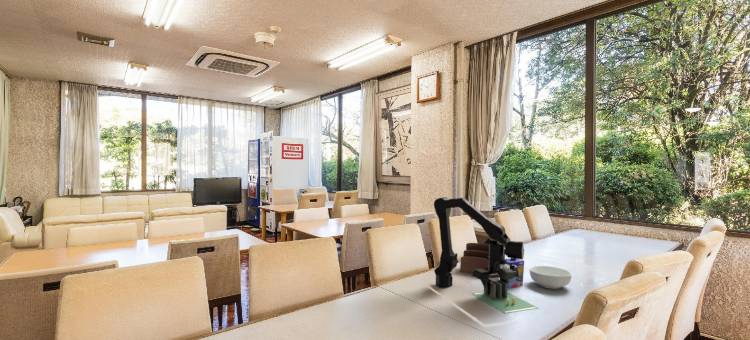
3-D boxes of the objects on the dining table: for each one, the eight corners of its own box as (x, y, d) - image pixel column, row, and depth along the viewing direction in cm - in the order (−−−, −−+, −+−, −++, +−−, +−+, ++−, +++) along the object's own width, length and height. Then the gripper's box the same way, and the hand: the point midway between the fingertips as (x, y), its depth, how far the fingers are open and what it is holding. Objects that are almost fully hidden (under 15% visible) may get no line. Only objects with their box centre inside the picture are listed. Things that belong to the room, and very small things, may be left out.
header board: (504, 315, 126) (504, 306, 126) (471, 295, 144) (471, 287, 144) (539, 310, 131) (539, 301, 131) (502, 291, 150) (503, 284, 150)
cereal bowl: (561, 281, 166) (561, 266, 166) (578, 293, 149) (578, 277, 149) (524, 279, 168) (524, 264, 168) (536, 291, 151) (537, 275, 151)
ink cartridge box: (508, 290, 151) (509, 257, 151) (498, 286, 156) (499, 254, 156) (524, 287, 156) (524, 255, 156) (513, 283, 161) (514, 252, 161)
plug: (493, 299, 138) (494, 284, 138) (483, 294, 144) (484, 279, 144) (507, 298, 140) (507, 283, 140) (496, 292, 147) (496, 278, 146)
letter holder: (465, 267, 186) (466, 240, 186) (504, 274, 175) (505, 246, 175) (459, 271, 177) (460, 244, 177) (500, 279, 167) (501, 250, 167)
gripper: (490, 262, 131) (488, 303, 132) (529, 259, 138) (528, 298, 138) (472, 255, 142) (471, 293, 142) (509, 252, 148) (508, 288, 148)
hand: (495, 293), depth 142 cm, fingers open, 7 cm apart
